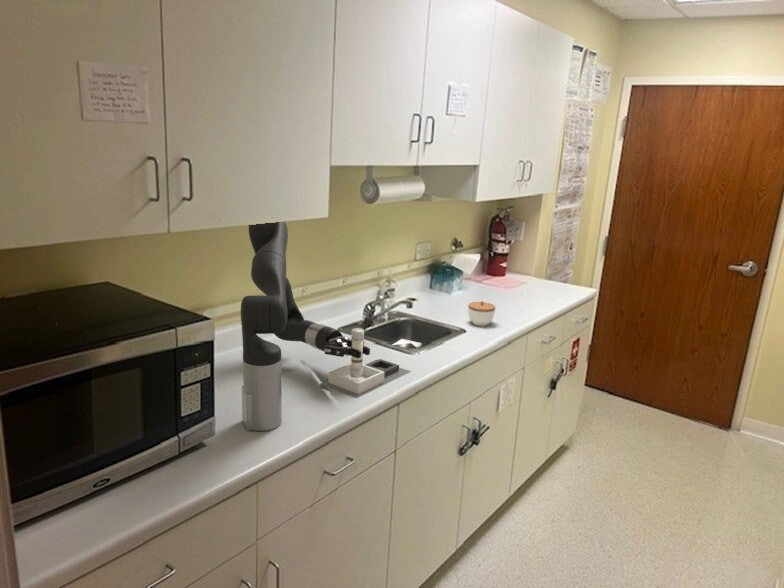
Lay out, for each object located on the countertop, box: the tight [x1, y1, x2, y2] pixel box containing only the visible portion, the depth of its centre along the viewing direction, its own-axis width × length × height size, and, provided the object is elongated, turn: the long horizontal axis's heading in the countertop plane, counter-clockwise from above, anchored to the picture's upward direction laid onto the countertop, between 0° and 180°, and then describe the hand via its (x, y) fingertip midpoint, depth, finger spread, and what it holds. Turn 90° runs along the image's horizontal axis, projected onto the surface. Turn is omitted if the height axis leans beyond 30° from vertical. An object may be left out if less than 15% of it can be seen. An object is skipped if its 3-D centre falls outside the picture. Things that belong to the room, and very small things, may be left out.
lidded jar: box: [467, 300, 496, 327], centre depth 234 cm, size 11×11×9 cm
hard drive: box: [392, 338, 422, 349], centre depth 204 cm, size 2×8×12 cm
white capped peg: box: [350, 327, 365, 378], centre depth 169 cm, size 4×4×14 cm
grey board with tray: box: [319, 358, 412, 399], centre depth 175 cm, size 26×14×4 cm, turn 143°
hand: (364, 353), depth 167 cm, fingers closed on white capped peg, 3 cm apart
